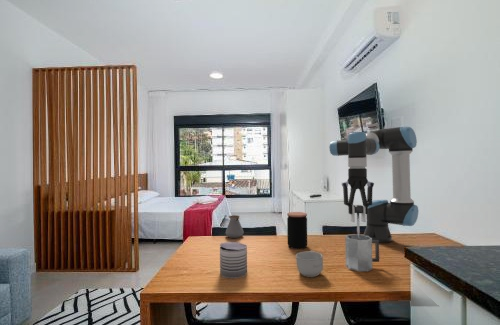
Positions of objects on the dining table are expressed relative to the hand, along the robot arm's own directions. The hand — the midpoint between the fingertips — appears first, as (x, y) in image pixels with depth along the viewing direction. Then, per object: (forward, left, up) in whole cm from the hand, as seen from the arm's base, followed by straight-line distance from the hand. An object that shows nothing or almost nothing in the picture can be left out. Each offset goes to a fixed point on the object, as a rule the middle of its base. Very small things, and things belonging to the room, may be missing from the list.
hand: (358, 221), depth 122 cm
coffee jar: (+22, -31, -20) cm, 43 cm away
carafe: (-2, 0, -20) cm, 20 cm away
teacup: (+22, +6, -20) cm, 30 cm away
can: (+54, +6, -20) cm, 58 cm away
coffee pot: (+57, -48, -20) cm, 77 cm away
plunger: (0, 0, -13) cm, 13 cm away
